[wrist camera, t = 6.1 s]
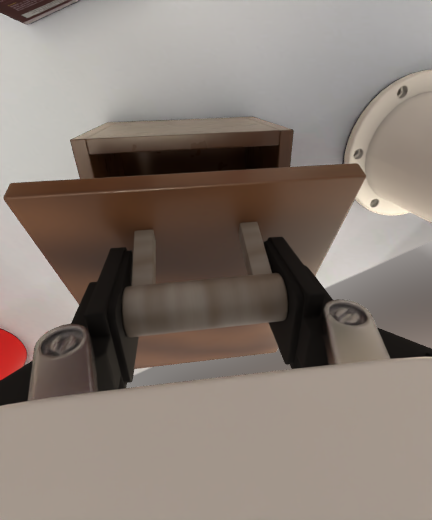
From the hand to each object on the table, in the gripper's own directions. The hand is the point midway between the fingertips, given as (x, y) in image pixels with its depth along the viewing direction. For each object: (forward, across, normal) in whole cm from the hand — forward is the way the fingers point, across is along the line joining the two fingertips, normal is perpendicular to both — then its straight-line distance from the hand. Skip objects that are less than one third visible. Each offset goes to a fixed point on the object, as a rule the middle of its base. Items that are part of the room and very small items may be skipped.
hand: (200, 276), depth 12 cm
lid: (+4, 0, +4) cm, 5 cm away
